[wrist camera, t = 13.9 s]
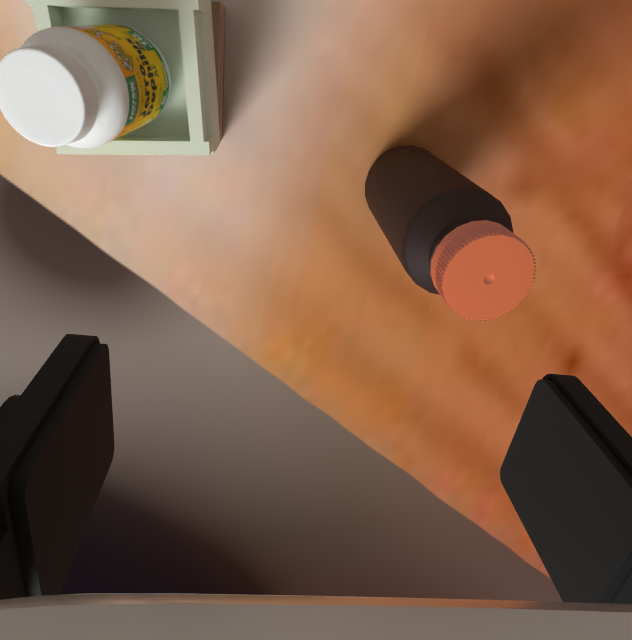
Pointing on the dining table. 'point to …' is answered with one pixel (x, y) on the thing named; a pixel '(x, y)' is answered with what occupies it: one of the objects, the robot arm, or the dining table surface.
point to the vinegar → (449, 233)
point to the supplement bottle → (83, 85)
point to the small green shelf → (182, 60)
